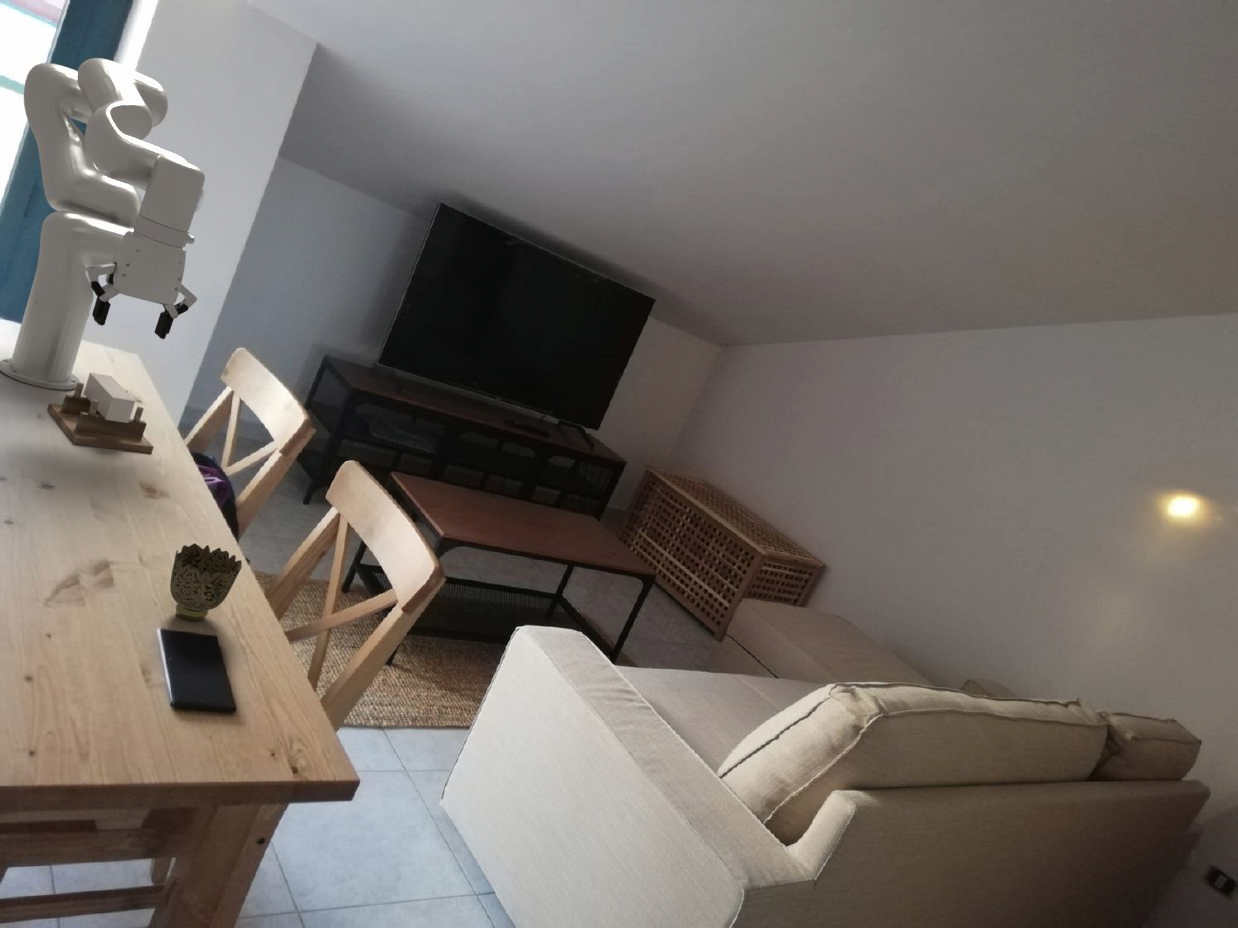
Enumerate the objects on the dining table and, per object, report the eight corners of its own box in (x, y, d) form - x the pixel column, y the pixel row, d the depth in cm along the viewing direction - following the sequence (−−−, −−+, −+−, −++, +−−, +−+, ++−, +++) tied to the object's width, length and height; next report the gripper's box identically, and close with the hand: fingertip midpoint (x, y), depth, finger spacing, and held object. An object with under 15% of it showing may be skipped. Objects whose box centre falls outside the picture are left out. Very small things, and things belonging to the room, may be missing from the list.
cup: (178, 593, 108) (197, 537, 107) (233, 616, 108) (253, 560, 107) (143, 614, 101) (163, 553, 99) (202, 638, 101) (223, 578, 100)
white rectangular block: (83, 393, 149) (89, 372, 149) (105, 397, 152) (111, 376, 151) (105, 419, 142) (112, 397, 141) (128, 422, 145) (135, 401, 144)
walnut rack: (47, 409, 147) (58, 373, 146) (122, 420, 157) (132, 386, 156) (74, 444, 138) (85, 406, 137) (151, 453, 148) (163, 417, 147)
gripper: (203, 243, 150) (173, 334, 153) (95, 209, 137) (65, 309, 140) (220, 255, 146) (189, 348, 149) (111, 221, 132) (79, 324, 135)
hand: (129, 329), depth 144 cm, fingers open, 9 cm apart
